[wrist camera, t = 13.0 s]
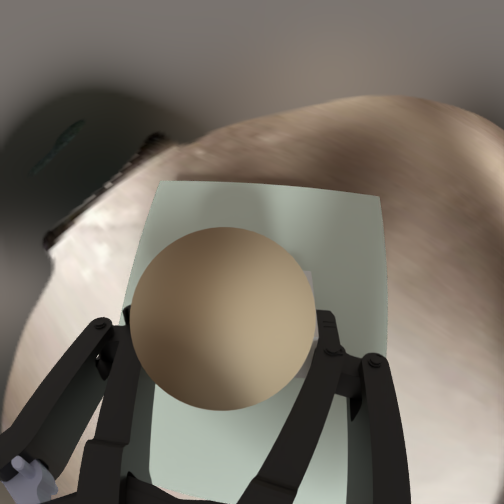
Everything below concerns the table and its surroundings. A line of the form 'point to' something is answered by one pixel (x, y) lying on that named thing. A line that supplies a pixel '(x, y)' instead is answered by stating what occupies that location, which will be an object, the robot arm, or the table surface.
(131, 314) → the beech peg
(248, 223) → the sage board
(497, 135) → the table surface
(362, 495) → the robot arm
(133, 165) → the table surface
